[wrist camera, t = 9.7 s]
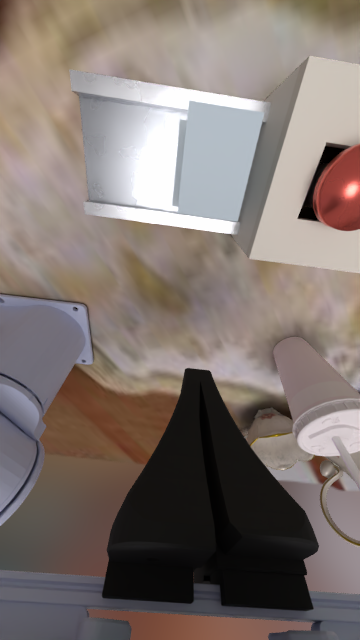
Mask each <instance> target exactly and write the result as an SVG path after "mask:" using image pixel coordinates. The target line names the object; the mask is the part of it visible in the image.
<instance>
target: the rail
mask: <svg viewBox="0 0 360 640" xmlns="http://www.w3.org/2000/svg"><path fill="white" fill-rule="evenodd" d="M70 79H71V88H72V91H73V92H74V93H75V94H77V95H78V96H79V99H80V110H81V120H82V131H83V142H84V152H85V163H86V174H87V184H88V195H89V200H87V201H84V211H85V214H88V215H95V216H103V217H110V218H117V219H125V220H132V221H139V222H147V223H154V224H161V225H169V226H176V227H184V228H191V229H198V230H206V231H213V232H220V233H228V234H235V235H238V232H239V228H240V224H241V223H240V222H239V221H238V222H236V221H229V220H221V219H214V218H207V217H200V216H193V215H185V214H178V213H177V211H178V207H176V206H172V200H173V190H174V179H175V168H176V157H177V146H178V135H179V124H180V119H182V120H187V115H188V106H189V100H191V101H197V102H203V103H209V104H215V105H221V106H227V107H234V108H240V109H246V110H252V111H258V112H264V117H263V121H262V125H263V124H265V123H266V122H267V118H268V115H269V111H270V107H271V103H268V102H262V101H256V100H250V99H244V98H238V97H232V96H226V95H220V94H214V93H208V92H202V91H196V90H190V89H184V88H178V87H172V86H166V85H160V84H154V83H148V82H142V81H136V80H130V79H124V78H118V77H112V76H106V75H100V74H94V73H88V72H81V71H75V70H70ZM262 125H261V126H262ZM260 130H261V129H260ZM259 134H260V133H259ZM258 138H259V137H258ZM257 142H258V141H257ZM256 146H257V145H256ZM255 150H256V149H255ZM254 154H255V153H254ZM253 158H254V157H253ZM252 162H253V161H252ZM251 166H252V165H251ZM250 170H251V169H250ZM249 174H250V173H249ZM248 178H249V177H248ZM247 182H248V181H247ZM241 207H242V206H241ZM240 211H241V210H240ZM239 215H240V214H239ZM238 219H239V218H238Z"/></svg>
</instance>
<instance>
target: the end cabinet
mask: <svg viewBox="0 0 360 640" xmlns="http://www.w3.org/2000/svg"><path fill="white" fill-rule="evenodd" d="M264 102H268V103H271V107H270V111H269V115H268V118H267V122H266V123H265V124H263V125H262V126H261V130H260V134H259V138H258V142H257V146H256V150H255V154H254V158H253V162H252V166H251V170H250V174H249V178H248V182H247V186H246V190H245V194H244V198H243V202H242V207H241V211H240V215H239V219H238V221H239V222H240V223H241V224H240V228H239V232H238V235H235V234H232V235H231V236H232V237H233V239H234V240H235V241H236V243H237V244H238V245H239V246H240V248H241V249H242V250H243V252H244V253H245V254H246V255H247V257H248V258H249V259H255V260H263V261H270V262H278V263H286V264H293V265H301V266H309V267H316V268H324V269H331V270H339V271H347V272H354V273H360V229H358V230H354V231H341V230H337V229H334V228H331V227H329V226H326V225H324V224H323V223H321V222H320V221H319V220H311V219H304V218H298V216H299V213H300V210H301V208H302V205H303V203H304V200H305V197H306V195H307V192H308V189H309V187H310V184H311V182H312V179H313V176H314V174H315V171H316V169H317V166H318V163H319V161H320V158H321V156H322V153H323V150H324V148H325V146H331V147H337V148H344V149H347V148H349V147H351V146H353V145H356V144H359V143H360V65H359V64H354V63H348V62H343V61H337V60H331V59H326V58H320V57H314V56H309V57H308V58H307V59H306V60H305V61H304V62H303V63H302V64H301V65H300V66H299V67H298V68H297V69H296V70H295V71H294V72H293V73H292V74H291V75H290V76H289V77H288V78H287V79H286V80H285V81H284V82H283V83H282V84H281V85H280V86H279V87H278V88H277V89H276V90H275V91H274V92H273V93H271V94H270V95H269V96H268V97H267V98H266V99H265V100H264Z"/></svg>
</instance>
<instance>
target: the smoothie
mask: <svg viewBox="0 0 360 640" xmlns="http://www.w3.org/2000/svg"><path fill="white" fill-rule="evenodd" d="M273 355H274V358H275V362H276V365H277V368H278V372H279V375H280V379H281V382H282V385H283V389H284V392H285V395H286V399H287V402H288V405H289V409H290V412H291V416H292V419H293V422H294V424H293V428H292V432H293V434H294V437H295V438H296V440H297V443H298V445H299V447H300V448H301V449H303V450H304V451H306V452H308V453H310V454H314V455H319V456H340V455H341V457H342V459H343V461H344V462H345V464H346V466H347V468H348V470H349V471H350V473H351V475H352V477H353V479H354V480H355V482H356V484H357V486H358V488H359V489H360V471H359V469H358V468H357V466H356V464H355V463H354V461H353V459H352V457H351V456H350V454H351V453H355V452H358V451H360V394H359V393H358V392H357V391H356V390H355V389H354V388H353V387H352V386H351V385H350V384H349V383H348V382H347V381H346V380H345V379H344V378H343V377H342V376H341V375H340V374H339V373H338V372H337V371H336V370H335V369H334V368H333V367H332V366H331V365H330V364H329V363H328V362H327V361H326V360H325V359H324V358H323V357H322V356H321V355H320V354H319V353H318V352H317V351H315V350H314V349H313V348H312V347H311V346H310V345H309V344H308V343H307V342H306V341H305V340H304V339H303V338H300V337H289V338H286V339H283V340H282V341H280V342H279V343H278V344H277V345H276V346H275V347H274V350H273Z"/></svg>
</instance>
